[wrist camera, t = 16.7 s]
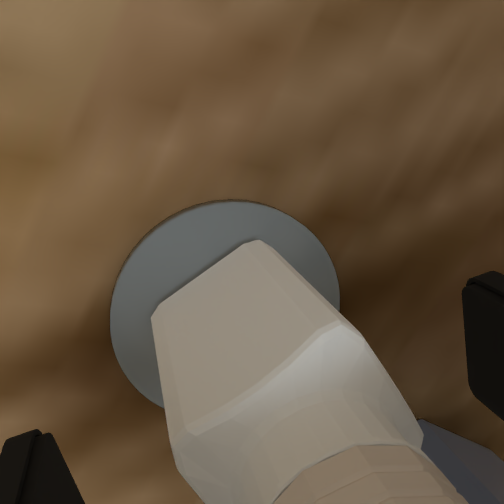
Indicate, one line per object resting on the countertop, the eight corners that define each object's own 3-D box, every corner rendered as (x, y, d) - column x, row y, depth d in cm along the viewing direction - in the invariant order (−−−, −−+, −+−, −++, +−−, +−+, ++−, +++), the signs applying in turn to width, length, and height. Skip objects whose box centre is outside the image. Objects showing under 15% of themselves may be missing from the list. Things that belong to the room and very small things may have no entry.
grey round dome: (311, 171, 14) (319, 174, 14) (346, 365, 17) (354, 375, 16) (75, 239, 13) (73, 245, 13) (150, 438, 16) (151, 450, 15)
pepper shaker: (321, 323, 15) (593, 626, 7) (218, 398, 15) (357, 811, 6) (255, 225, 14) (497, 450, 5) (140, 307, 14) (183, 690, 5)
